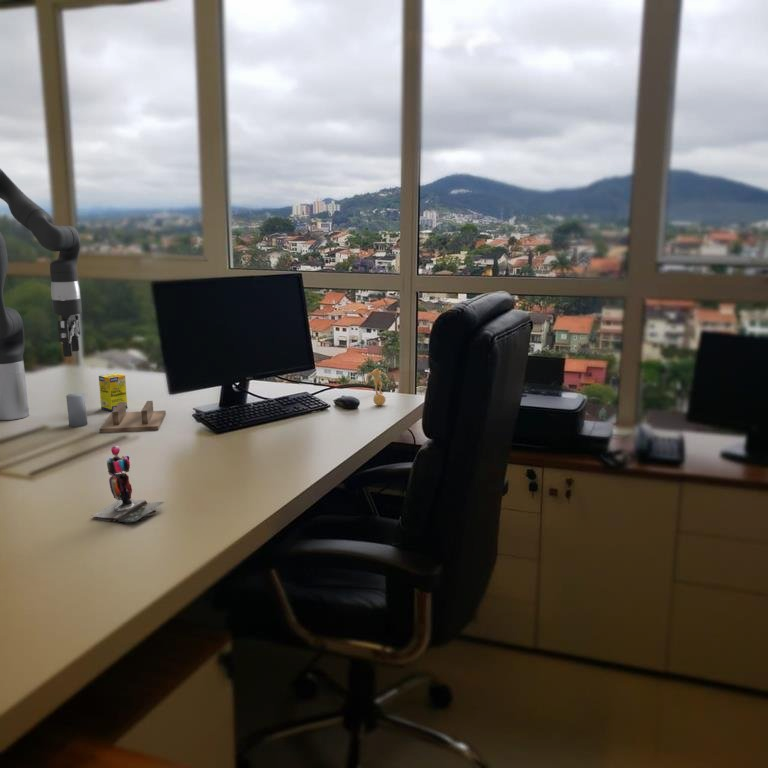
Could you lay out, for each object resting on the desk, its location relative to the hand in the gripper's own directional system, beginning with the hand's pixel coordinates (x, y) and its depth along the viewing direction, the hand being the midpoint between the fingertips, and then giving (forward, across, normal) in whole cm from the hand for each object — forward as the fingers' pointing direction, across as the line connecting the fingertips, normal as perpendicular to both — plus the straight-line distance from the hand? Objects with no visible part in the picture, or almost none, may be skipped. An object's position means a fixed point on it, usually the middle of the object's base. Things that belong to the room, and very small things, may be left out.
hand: (71, 353), depth 212 cm
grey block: (+21, 0, 0) cm, 21 cm away
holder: (+21, +1, +16) cm, 27 cm away
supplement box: (+22, -18, +7) cm, 29 cm away
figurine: (+22, -9, +91) cm, 94 cm away
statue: (+22, +73, +26) cm, 80 cm away
